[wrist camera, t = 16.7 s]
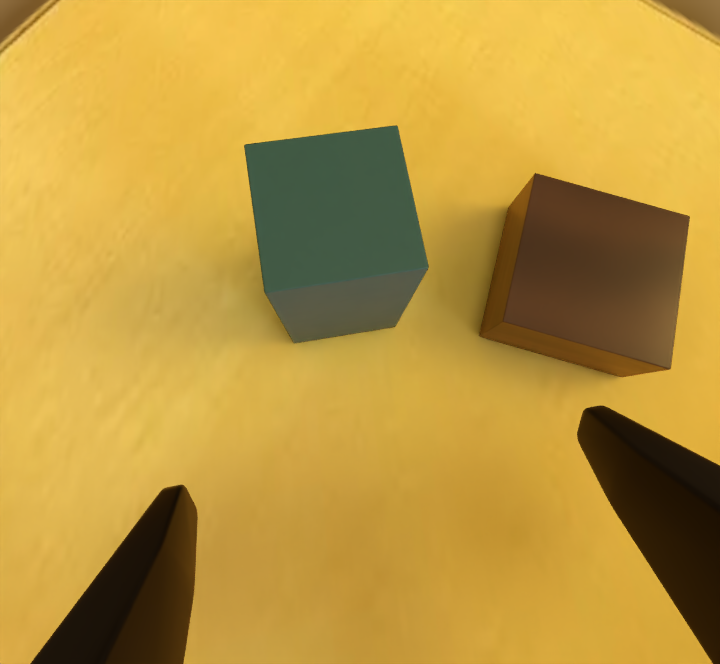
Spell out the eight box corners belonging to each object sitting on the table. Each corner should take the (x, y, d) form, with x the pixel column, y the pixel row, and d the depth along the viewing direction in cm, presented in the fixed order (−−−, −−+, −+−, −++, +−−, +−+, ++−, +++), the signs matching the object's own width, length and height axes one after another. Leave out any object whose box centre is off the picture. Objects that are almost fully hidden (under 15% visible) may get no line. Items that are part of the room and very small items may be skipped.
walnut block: (622, 377, 23) (671, 369, 20) (478, 336, 23) (502, 321, 20) (642, 244, 25) (690, 216, 21) (508, 206, 25) (535, 172, 22)
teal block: (395, 326, 23) (429, 267, 14) (293, 343, 23) (264, 293, 14) (376, 232, 24) (397, 124, 15) (279, 247, 24) (243, 144, 15)
